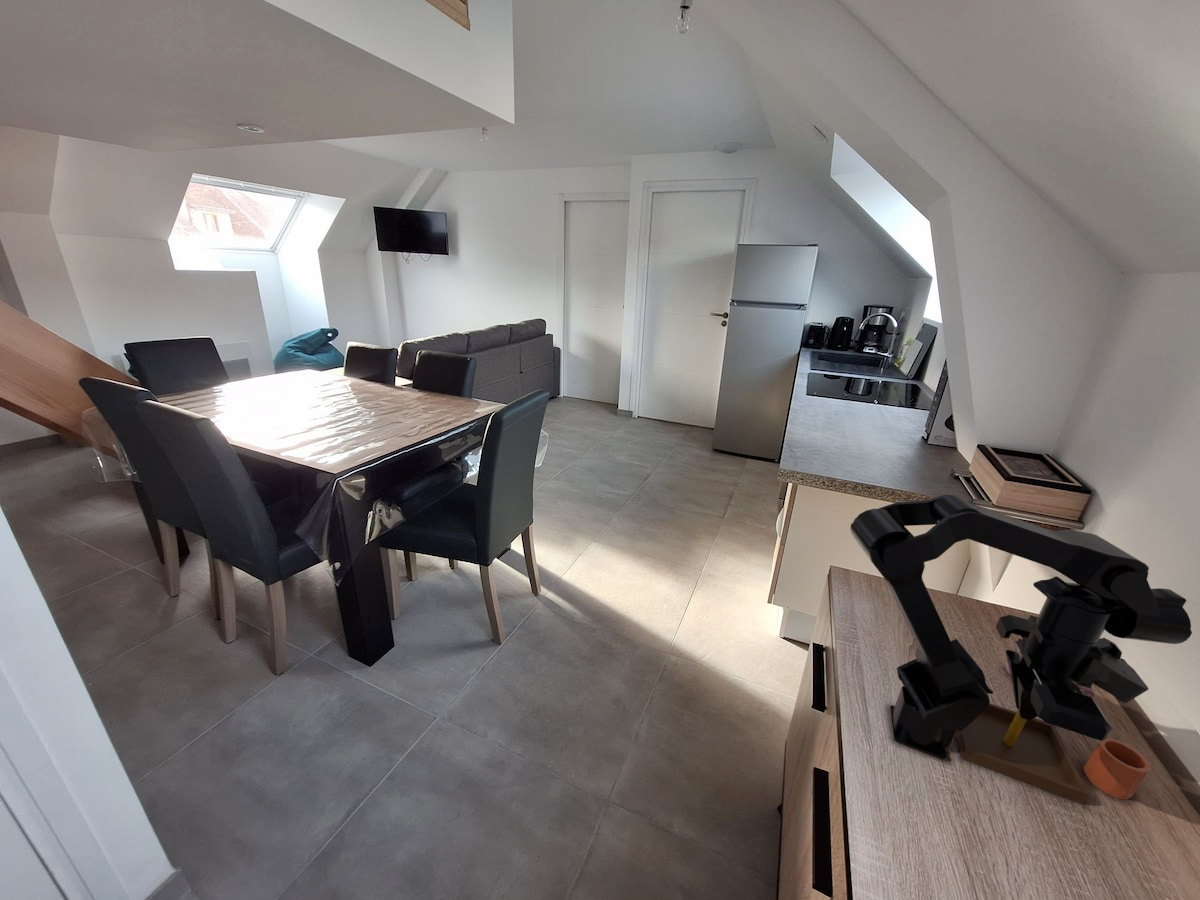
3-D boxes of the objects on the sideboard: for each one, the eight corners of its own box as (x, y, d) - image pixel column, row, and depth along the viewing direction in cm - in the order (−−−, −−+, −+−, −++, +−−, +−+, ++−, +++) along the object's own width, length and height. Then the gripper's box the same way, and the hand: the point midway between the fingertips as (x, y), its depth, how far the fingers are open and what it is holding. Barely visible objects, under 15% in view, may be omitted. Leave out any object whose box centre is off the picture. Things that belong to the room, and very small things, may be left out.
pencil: (1003, 744, 66) (1026, 700, 63) (1001, 737, 67) (1023, 693, 64) (1014, 748, 66) (1038, 703, 63) (1011, 741, 67) (1035, 696, 64)
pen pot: (1092, 789, 61) (1110, 761, 60) (1077, 759, 65) (1093, 732, 63) (1138, 806, 60) (1158, 778, 58) (1120, 774, 64) (1138, 747, 62)
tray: (961, 758, 65) (966, 748, 64) (945, 698, 74) (949, 689, 74) (1083, 804, 60) (1089, 794, 59) (1049, 733, 69) (1054, 724, 68)
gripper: (1205, 709, 48) (1136, 805, 53) (1113, 605, 64) (1068, 687, 69) (1067, 669, 52) (1017, 761, 58) (1013, 581, 68) (978, 660, 74)
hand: (1022, 713), depth 65 cm, fingers closed on pencil, 1 cm apart
